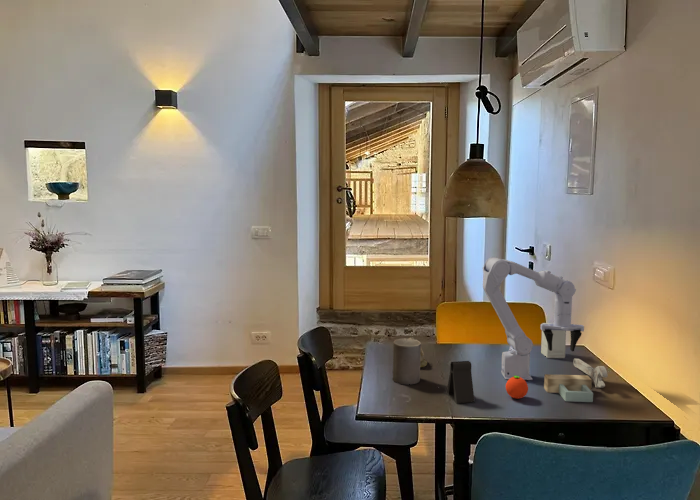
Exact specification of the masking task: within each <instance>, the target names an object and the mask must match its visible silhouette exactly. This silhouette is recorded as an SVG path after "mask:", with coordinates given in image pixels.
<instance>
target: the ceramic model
mask: <svg viewBox="0 0 700 500" xmlns="http://www.w3.org/2000/svg"><path fill="white" fill-rule="evenodd" d="M408 339H414V340H415V338H414V337H411V336H410V337H409V338H408ZM427 365H428V361H427V359H426V358H425V353H424V351H423V349H422V347H421V353H420V368H424V367H426V366H427Z"/></svg>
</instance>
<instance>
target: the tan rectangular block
mask: <svg viewBox="0 0 700 500" xmlns="http://www.w3.org/2000/svg"><path fill="white" fill-rule="evenodd" d="M543 381H544V382H543V389H544V390H545V392H546V393H549V394H550V393H551V394H552V393H554V394H555V393H556V394H559V384H563V385H564V386H565V387H566V388H567V390H568V391H581V388H582V385H586V386H587V387H588V388H589V389H590V390H591V391H592V387H593V386H592V381H593V379H592V377H591V376H589V375H588V374H585V375H583V374H580V375H579V374H544V379H543Z"/></svg>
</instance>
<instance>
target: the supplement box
mask: <svg viewBox="0 0 700 500" xmlns="http://www.w3.org/2000/svg"><path fill="white" fill-rule="evenodd" d="M552 323H553V322H542V323H541V324H552ZM551 331H552V333H553V339H552V351H550V350H549V349H548V343H547V340H546V337H545V334H544V332H543V331H542V330H541V342H540V344H541V346H540V347H541V348H540V353H541V354H542V355H543V356H544V357H545V356H546V357H545V358H547V359H565V358H566V344H567V343H566V342H567V341H566V339H567V331H561V330H551Z"/></svg>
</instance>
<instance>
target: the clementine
mask: <svg viewBox="0 0 700 500" xmlns="http://www.w3.org/2000/svg"><path fill="white" fill-rule="evenodd" d="M505 390H506V393H507V394H508V395H509V397H511V398H513V399H515V400H516V399H517V400H518V399H523V398H524V397H525V396H527V394H528V391H529V385H528V382H527V380H524V379H523V378H521V377H519V376H513V377H512V378H510V379H507V382H506V383H505Z"/></svg>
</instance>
